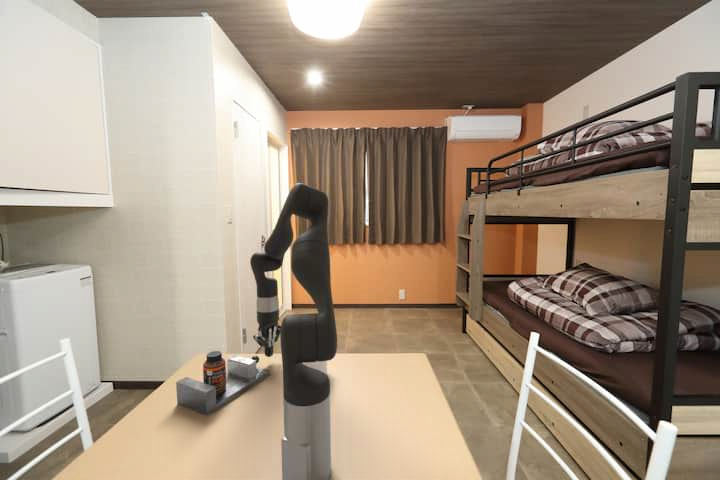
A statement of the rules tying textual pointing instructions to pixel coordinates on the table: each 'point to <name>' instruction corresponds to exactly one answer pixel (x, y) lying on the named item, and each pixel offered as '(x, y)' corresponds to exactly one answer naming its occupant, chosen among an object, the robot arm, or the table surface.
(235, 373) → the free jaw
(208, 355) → the supplement bottle
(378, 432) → the table surface
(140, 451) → the table surface
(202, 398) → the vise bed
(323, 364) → the cylinder with rectangular tab
